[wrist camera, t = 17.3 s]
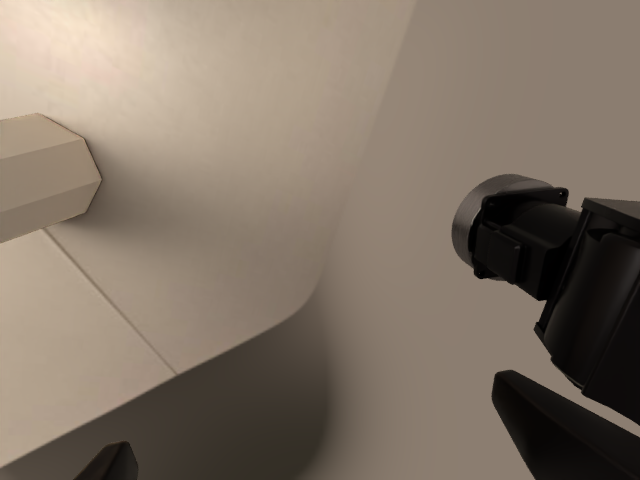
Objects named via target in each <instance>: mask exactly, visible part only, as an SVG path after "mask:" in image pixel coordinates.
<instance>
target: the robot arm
mask: <svg viewBox="0 0 640 480" xmlns="http://www.w3.org/2000/svg"><path fill="white" fill-rule="evenodd" d="M560 193H561V195H560ZM559 195H560V196H559ZM568 196H569V191H568V189H566V188H563V187H554V188H545V189H537V190H528V191H519V192H511V193H502V194H493V195H487V196H485V197H484V198H483V199H482V202H481V210H480V219H479V226H478V229H477V238H476V247H475V256H474V257H475V263H474V275H475V276H476V277H477V278H479V279H487V278H494V277H501V278H503V279H504V280H506V281H507V282H508V283H510V284H512V285H513V284H515V285H517V286H518V287H519V288H521V289H523V290H524V291H525V292H526V293H528V294H529V295H531V296H532V297H534V298H535V299H537V300H538V301H543V300H547V302H546V304H545V307H544V310H543V312H542V314H541V317H540V320H539V322H536V325H535V327H534V331H535V333H536V334H537V336H538V337H539V339H540V340H541V342H542V343H543V345H544V346H545V347H546V349H547V350H548V352H549V353H550V355H551V361H552V363H553V364H554V365H555V367H557V368H558V369H559V370H560V371H561V372H562V373H563V374H564V375H565V376H566V377H567V379H568V380H569V381H571V382H572V383H573V385H574V386H576V387H577V388H579V389H581V390H582V391H581V393H582V394H583V395H584V396H585V397H587V398H590V399H592V400H594V401H596V402H598V403H601V404H603V405H605V406H608V407H609V408H611V409H613V410H615V411H616V412H618V413H620V414H622V415H623V416H625V417H627V418H629V419H630V420H632V421H633V422H635V423H637V424H638V425H639V426H640V202H637V201H624V200H611V199H598V198H584V201H583V203H582V206H581V207H582V208H583V209H582V212H579V211H576V210H572V209H570V208H567V207H566V205H567V201H568ZM490 200H491V203H490V204H489V205H488V202H489V201H490ZM481 271H482V273H481V274H480V272H481ZM492 401H493V404H494V407H495V408H496V410H497V412H498V414H499V416H500V418H501V420H502V421H503V423H504V425H505V427H506V429H507V431H508V432H509V434H510V436H511V438H512V440H513V442H514V443H515V445H516V447H517V449H518V451H519V453H520V455H521V457H522V458H523V460H524V462H525V463H526V465H527V467H528V468H529V470H530V472H531V473H532V475H533V476H534V478H535V480H640V437H638V436H636V435H634V434H632V433H630V432H629V431H627V430H625V429H623V428H621V427H619V426H617V425H615V424H614V423H612V422H610V421H608V420H606V419H604V418H602V417H600V416H599V415H597V414H595V413H593V412H591V411H589V410H587V409H585V408H583V407H582V406H580V405H578V404H576V403H574V402H572V401H570V400H568V399H566V398H565V397H562V396H561V395H559V394H557V393H555V392H553V391H552V390H550V389H548V388H546V387H544V386H542V385H540V384H538V383H537V382H535V381H533V380H531V379H529V378H527V377H525V376H523V375H521V374H520V373H518V372H516V371H513V370H506V371H501V372H497V373H496V374H495V377H494V383H493V390H492ZM137 477H138V464H137V461H136V458H135V456H134V454H133V451H132V449H131V447H130V444H129V442H127V441H119V442H114V443H109V444H107V445H106V446H104V447H103V448H102V449H101V450H100V452H99V453H98V454H97V455H96V456H95V457H94V458H93V459H92V460H91V461H90V462H89V463H88V464H87V465H86V466H85V467H84V468H83V470H82V471H81V472H80V473H79V474H78V475H77V476H76V477H75V478H74V479H73V480H137Z"/></svg>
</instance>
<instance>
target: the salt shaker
mask: <svg viewBox="0 0 640 480" xmlns="http://www.w3.org/2000/svg"><path fill="white" fill-rule="evenodd" d="M101 181H102V178H101V176H100V174H99V172H98V169H97V167H96V165H95V163H94V160H93V158H92V156H91V154H90V151H89V149H88V147H87V145H86V142H85V140H84V138H82V137H80V136H78V135H77V134H75V133H73V132H71V131H69V130H68V129H66V128H64V127H62V126H60V125H59V124H57V123H55V122H53V121H51V120H50V119H48V118H46V117H44V116H42V115H41V114H39V113H35V114H30V115H25V116H20V117H14V118H9V119H4V120H0V243H3V242H6V241H9V240H11V239H14V238H17V237H20V236H22V235H25V234H28V233H31V232H33V231H36V230H39V229H42V228H44V227H47V226H50V225H53V224H55V223H58V222H61V221H64V220H66V219H69V218H72V217H75V216H77V215H80V214H83V213H86V211H87V209H88V207H89V205H90V203H91V201H92V199H93V197H94V195H95V193H96V191H97V189H98V187H99V185H100V183H101Z"/></svg>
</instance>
